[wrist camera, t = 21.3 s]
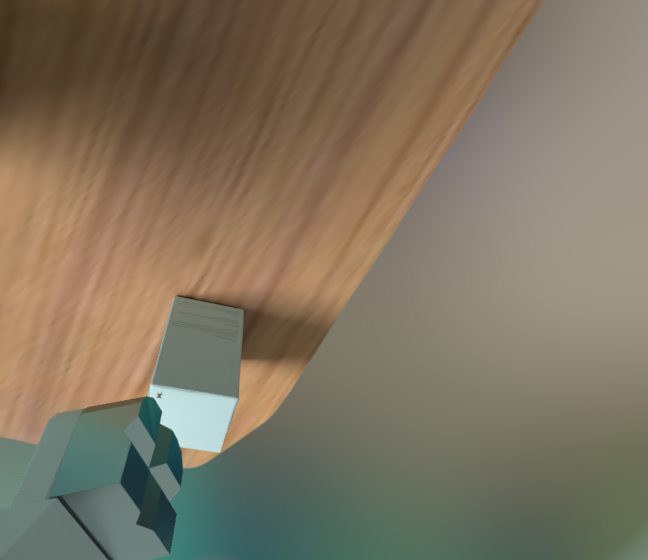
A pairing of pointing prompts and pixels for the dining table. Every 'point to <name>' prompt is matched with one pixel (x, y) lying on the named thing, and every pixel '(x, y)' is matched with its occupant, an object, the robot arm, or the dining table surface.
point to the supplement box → (199, 372)
